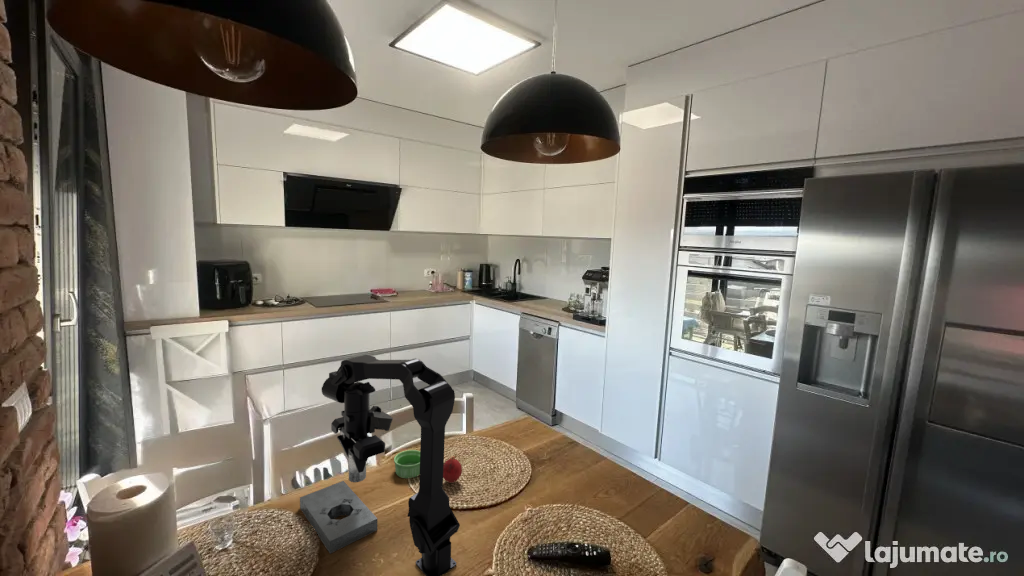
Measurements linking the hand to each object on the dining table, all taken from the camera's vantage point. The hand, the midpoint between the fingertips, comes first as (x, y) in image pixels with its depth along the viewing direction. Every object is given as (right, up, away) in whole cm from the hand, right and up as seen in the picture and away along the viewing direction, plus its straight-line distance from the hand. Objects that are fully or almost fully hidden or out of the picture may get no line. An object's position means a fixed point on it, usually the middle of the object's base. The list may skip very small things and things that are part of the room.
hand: (357, 468), depth 100 cm
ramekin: (+7, -11, +22) cm, 25 cm away
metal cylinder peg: (0, -3, 0) cm, 3 cm away
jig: (-5, -13, 0) cm, 13 cm away
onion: (+21, -12, +17) cm, 29 cm away
